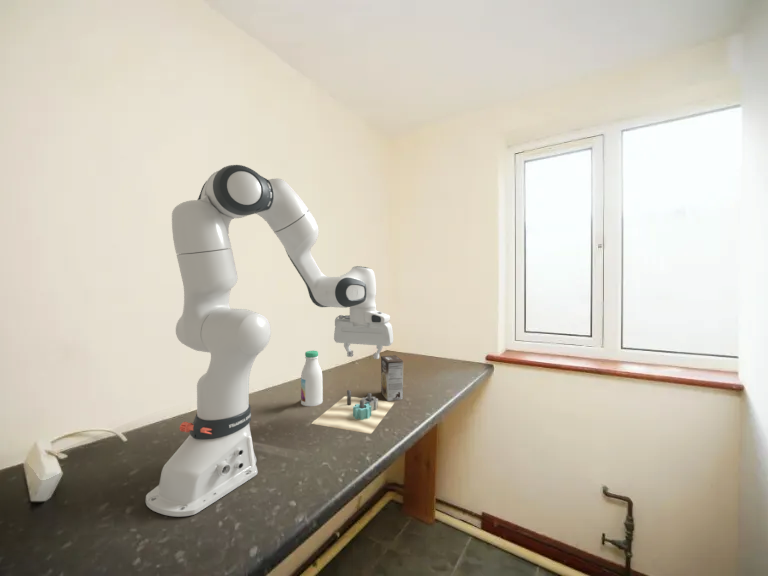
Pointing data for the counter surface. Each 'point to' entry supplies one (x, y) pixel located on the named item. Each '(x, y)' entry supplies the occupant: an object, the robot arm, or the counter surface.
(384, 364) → the coffee box
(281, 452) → the counter surface
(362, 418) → the teal gear
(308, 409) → the counter surface
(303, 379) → the milk bottle
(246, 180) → the robot arm
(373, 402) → the grey gear
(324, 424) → the peg board
